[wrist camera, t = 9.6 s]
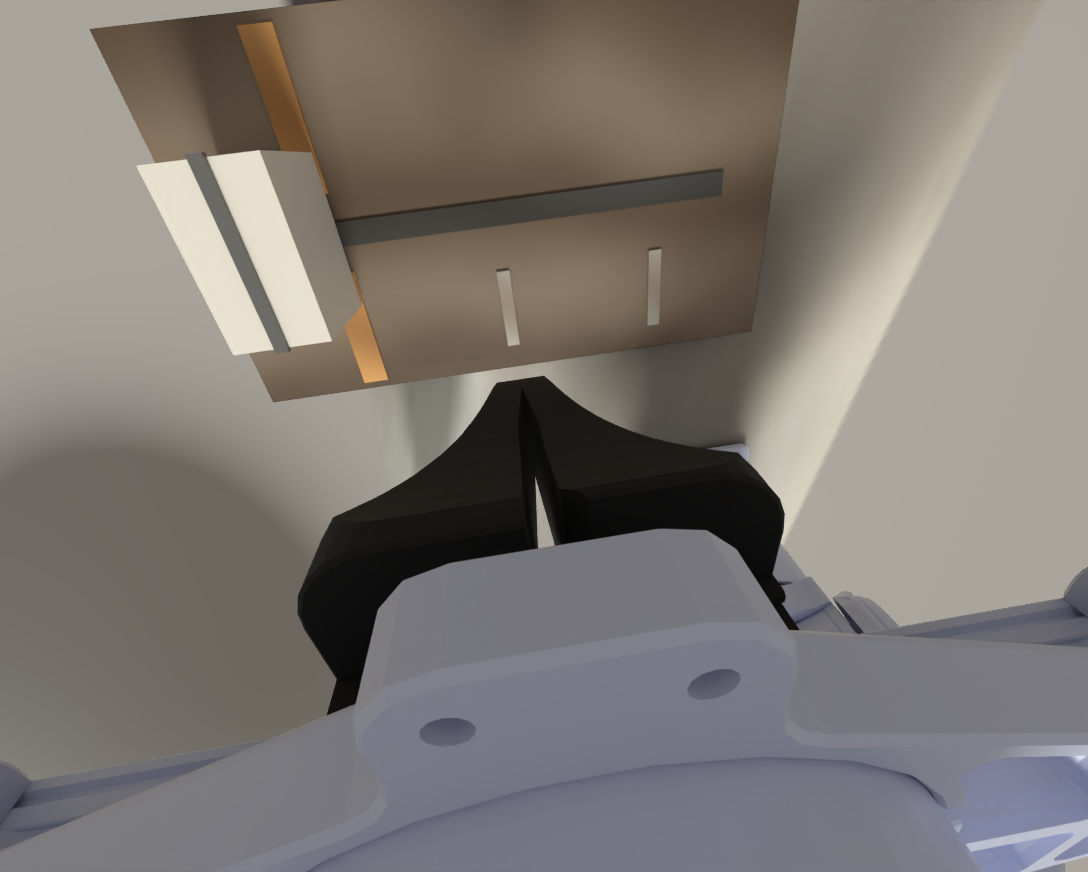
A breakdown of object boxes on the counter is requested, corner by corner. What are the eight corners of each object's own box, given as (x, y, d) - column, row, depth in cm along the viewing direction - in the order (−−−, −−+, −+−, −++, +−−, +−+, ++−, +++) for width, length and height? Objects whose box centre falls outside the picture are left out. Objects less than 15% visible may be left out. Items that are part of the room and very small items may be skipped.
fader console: (735, 321, 21) (752, 332, 20) (286, 387, 20) (272, 403, 19) (778, -35, 15) (808, -55, 13) (125, 41, 14) (86, 28, 13)
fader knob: (362, 308, 17) (331, 345, 14) (284, 319, 17) (232, 360, 14) (310, 148, 14) (254, 145, 11) (216, 161, 14) (129, 161, 11)
